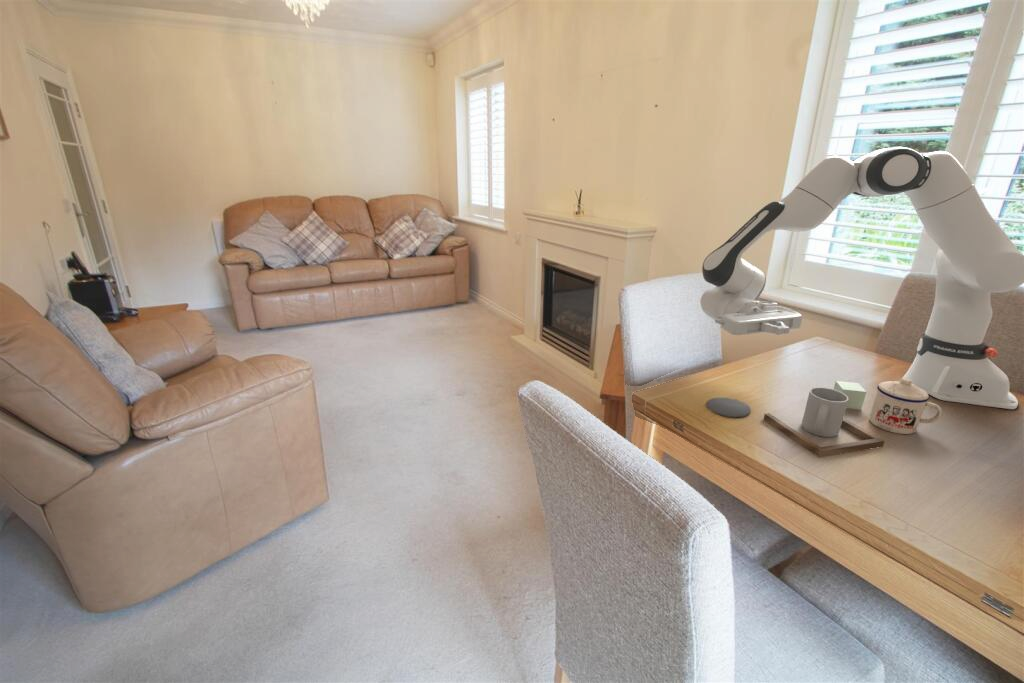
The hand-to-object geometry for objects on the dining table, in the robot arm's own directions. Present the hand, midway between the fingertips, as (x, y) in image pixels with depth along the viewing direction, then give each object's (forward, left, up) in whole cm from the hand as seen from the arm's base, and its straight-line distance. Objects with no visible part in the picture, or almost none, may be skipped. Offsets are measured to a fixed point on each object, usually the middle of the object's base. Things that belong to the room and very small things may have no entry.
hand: (784, 331), depth 111 cm
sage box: (-17, -8, -19) cm, 26 cm away
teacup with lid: (-27, -1, -19) cm, 33 cm away
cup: (-11, +11, -19) cm, 25 cm away
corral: (-10, +11, -19) cm, 24 cm away
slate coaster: (+8, +10, -19) cm, 23 cm away
